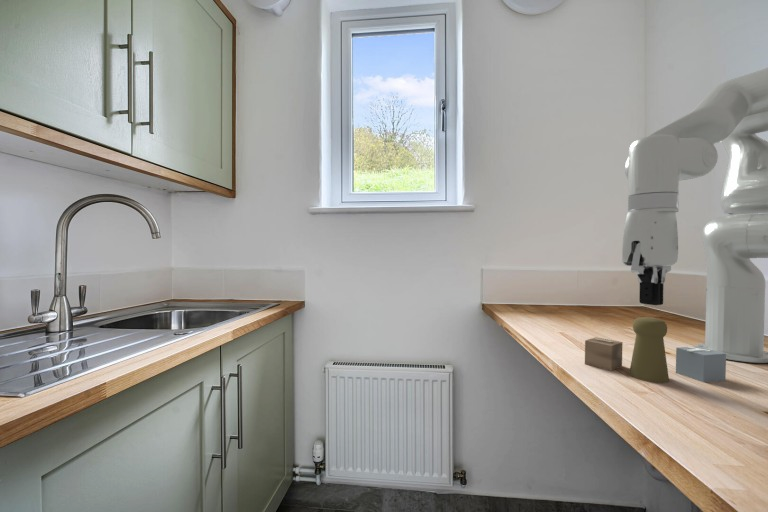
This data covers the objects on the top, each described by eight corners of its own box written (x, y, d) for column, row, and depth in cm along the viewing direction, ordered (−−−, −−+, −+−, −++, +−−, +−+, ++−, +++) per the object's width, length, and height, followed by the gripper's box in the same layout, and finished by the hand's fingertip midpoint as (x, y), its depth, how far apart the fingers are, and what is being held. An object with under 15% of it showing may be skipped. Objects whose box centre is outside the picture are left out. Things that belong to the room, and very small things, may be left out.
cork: (676, 384, 64) (678, 321, 64) (638, 381, 65) (639, 320, 65) (658, 372, 70) (659, 315, 70) (623, 370, 71) (624, 314, 71)
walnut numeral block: (595, 360, 78) (596, 336, 78) (621, 366, 74) (622, 341, 74) (584, 364, 75) (585, 339, 75) (611, 371, 71) (611, 344, 71)
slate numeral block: (696, 371, 71) (697, 345, 71) (725, 381, 66) (726, 352, 66) (674, 373, 70) (675, 346, 70) (702, 382, 65) (702, 353, 65)
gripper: (653, 209, 74) (651, 299, 74) (606, 205, 67) (605, 304, 67) (698, 205, 67) (696, 304, 67) (651, 200, 60) (650, 310, 61)
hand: (651, 303), depth 67 cm, fingers closed
